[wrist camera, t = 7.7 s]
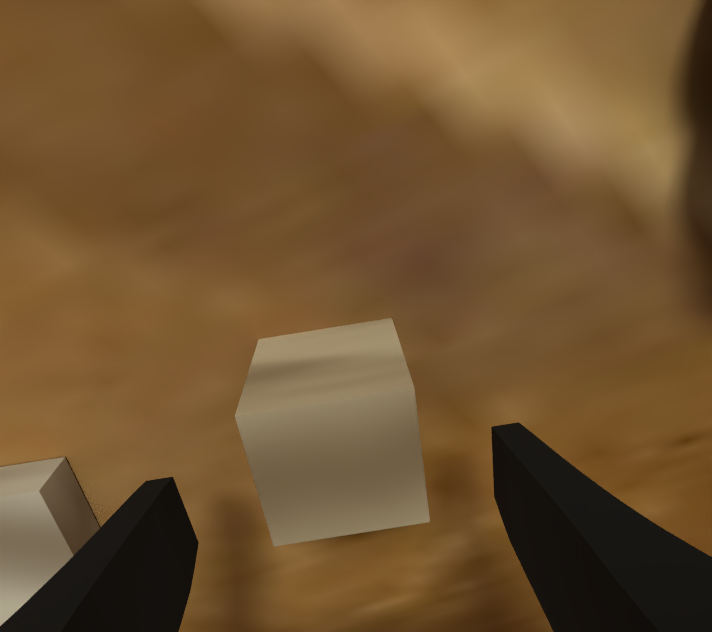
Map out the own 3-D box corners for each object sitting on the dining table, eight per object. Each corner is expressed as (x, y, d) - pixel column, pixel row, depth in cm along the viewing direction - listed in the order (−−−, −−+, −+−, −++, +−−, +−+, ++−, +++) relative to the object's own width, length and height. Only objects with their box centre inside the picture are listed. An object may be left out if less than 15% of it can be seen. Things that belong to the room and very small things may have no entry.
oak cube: (405, 426, 16) (430, 522, 12) (286, 445, 16) (273, 546, 12) (391, 317, 14) (414, 387, 10) (259, 338, 14) (234, 415, 10)
